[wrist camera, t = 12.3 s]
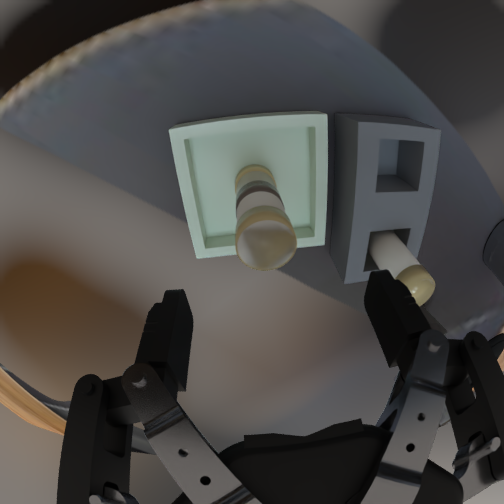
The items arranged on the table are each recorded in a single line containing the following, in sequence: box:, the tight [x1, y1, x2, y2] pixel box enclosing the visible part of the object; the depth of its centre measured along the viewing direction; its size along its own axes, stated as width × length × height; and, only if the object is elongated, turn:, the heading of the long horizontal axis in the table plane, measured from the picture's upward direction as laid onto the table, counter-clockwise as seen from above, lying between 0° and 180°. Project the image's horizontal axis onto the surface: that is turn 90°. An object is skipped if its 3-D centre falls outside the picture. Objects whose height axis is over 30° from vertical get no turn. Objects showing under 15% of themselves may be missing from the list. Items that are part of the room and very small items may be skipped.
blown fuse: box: [235, 164, 297, 271], centre depth 19 cm, size 3×3×10 cm
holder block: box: [330, 113, 441, 284], centre depth 22 cm, size 8×15×5 cm, turn 5°
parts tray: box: [169, 111, 328, 259], centre depth 23 cm, size 12×12×2 cm
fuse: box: [367, 230, 435, 307], centre depth 22 cm, size 3×3×10 cm
